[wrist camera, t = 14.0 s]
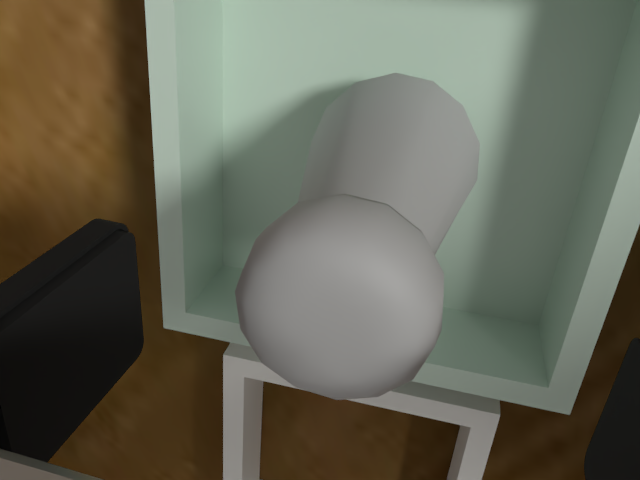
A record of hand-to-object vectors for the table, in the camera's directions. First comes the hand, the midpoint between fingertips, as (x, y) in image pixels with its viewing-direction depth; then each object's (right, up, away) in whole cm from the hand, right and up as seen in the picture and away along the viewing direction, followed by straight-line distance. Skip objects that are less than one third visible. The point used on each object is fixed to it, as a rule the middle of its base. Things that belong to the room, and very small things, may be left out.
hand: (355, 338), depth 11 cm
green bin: (+2, +6, +12) cm, 14 cm away
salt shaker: (+2, +6, +12) cm, 13 cm away
